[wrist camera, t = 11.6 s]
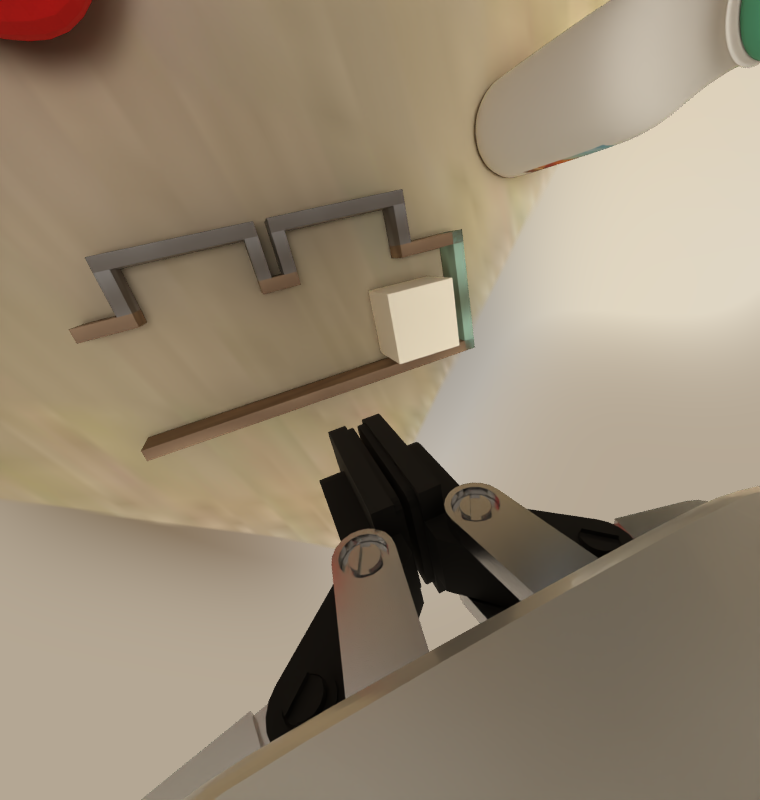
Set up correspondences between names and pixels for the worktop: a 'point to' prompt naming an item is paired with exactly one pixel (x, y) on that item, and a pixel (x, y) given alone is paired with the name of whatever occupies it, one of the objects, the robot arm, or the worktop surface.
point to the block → (415, 318)
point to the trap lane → (400, 246)
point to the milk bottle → (611, 79)
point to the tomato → (39, 18)
